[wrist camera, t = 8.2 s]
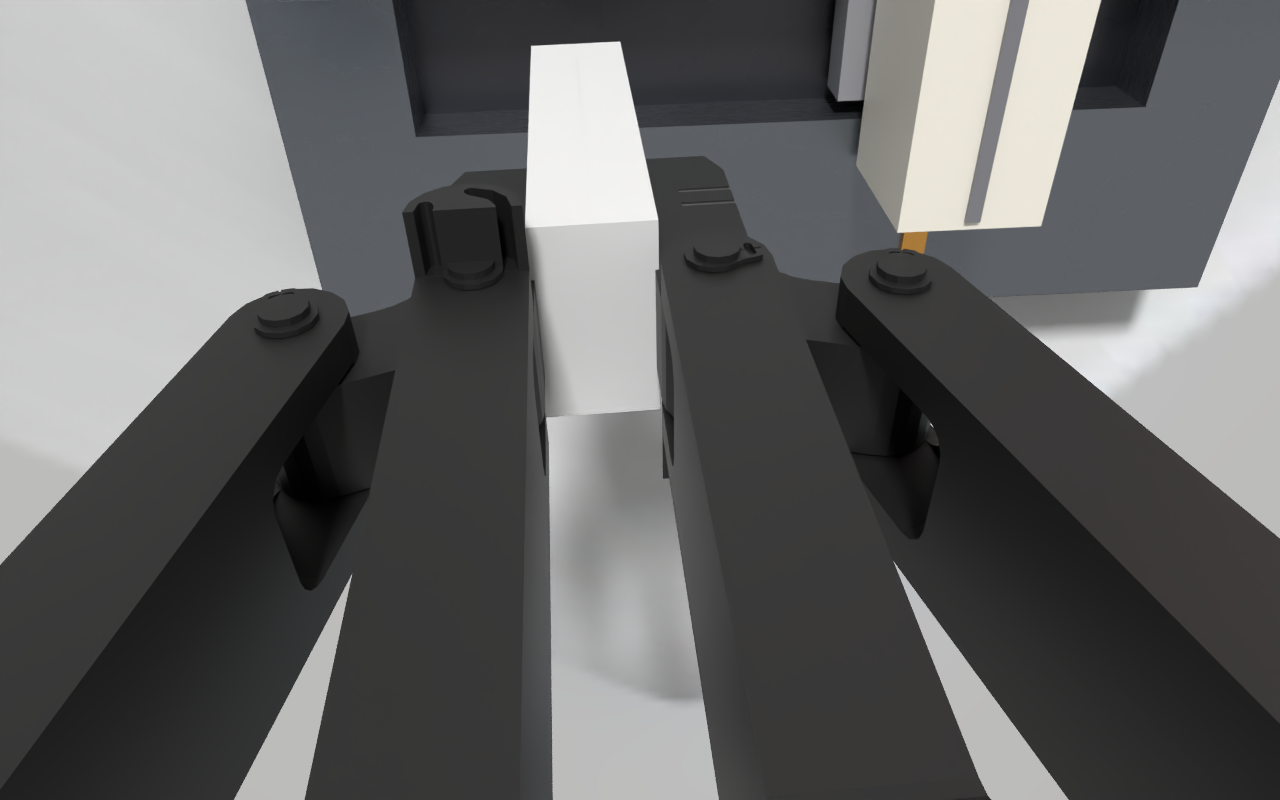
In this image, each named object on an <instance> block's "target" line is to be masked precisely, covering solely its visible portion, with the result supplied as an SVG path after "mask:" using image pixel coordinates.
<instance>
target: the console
mask: <svg viewBox="0 0 1280 800" xmlns="http://www.w3.org/2000/svg"><path fill="white" fill-rule="evenodd" d="M246 3H247V7H248V11H249V15H250V19H251V22H252V26H253V30H254V34H255V37H256V41H257V45H258V49H259V53H260V56H261V60H262V64H263V68H264V71H265V75H266V79H267V83H268V87H269V90H270V94H271V98H272V102H273V105H274V109H275V113H276V117H277V121H278V124H279V128H280V132H281V136H282V139H283V143H284V147H285V151H286V154H287V158H288V162H289V166H290V170H291V173H292V177H293V181H294V185H295V188H296V192H297V196H298V200H299V204H300V207H301V211H302V215H303V219H304V222H305V226H306V230H307V234H308V238H309V241H310V245H311V249H312V253H313V256H314V260H315V264H316V268H317V271H318V275H319V279H320V283H321V287H322V290H323V291H329V292H332V293H334V294H336V295H337V296H339V297H341V298H342V299H344V300H345V302H346V305H347V307H348V310H349V313H350V317H353V316H357V315H362V314H366V313H370V312H374V311H378V310H381V309H384V308H387V307H391V306H394V305H396V304H398V303H400V302H403V301H405V300H407V299H409V298H410V297H411V294H412V290H413V285H414V280H415V275H414V270H413V265H412V260H411V255H410V250H409V245H408V240H407V235H406V230H405V225H404V220H403V215H402V212H403V210H404V209H405V207H406V206H407V204H408V203H409V202H410V201H412V200H413V199H415V198H417V197H418V196H420V195H422V194H423V193H426V192H429V191H432V190H435V189H438V188H441V187H444V186H451V185H452V184H453V183H454V182H455V181H456V180H457V179H458V178H459V177H460V176H461V175H462V174H463V173H465V172H470V171H488V170H506V169H524V168H527V153H528V124H529V95H530V66H531V46H540V45H560V44H580V43H600V42H620V43H621V48H622V53H623V57H624V62H625V67H626V71H627V76H628V81H629V85H630V90H631V95H632V99H633V104H634V109H635V113H636V118H637V123H638V127H639V132H640V136H641V141H642V146H643V150H644V155H645V159H655V158H672V157H690V156H705V157H707V158H708V159H709V160H711V161H712V162H714V163H715V164H716V165H718V166H719V167H721V168H722V169H723V170H724V173H725V175H726V178H727V181H728V184H729V189H731V192H732V194H733V197H734V203H736V205H737V208H738V211H739V213H740V216H741V219H742V221H743V224H744V227H745V229H746V232H747V235H748V237H750V238H752V239H754V240H756V241H758V242H760V243H762V244H764V245H765V247H766V248H767V249H768V250H769V251H770V253H771V254H772V256H773V258H774V261H775V263H776V266H777V268H778V271H779V272H781V273H784V274H787V275H790V276H793V277H797V278H803V279H809V280H816V281H824V282H833V283H840V276H841V271H842V267H843V265H844V264H845V263H846V262H847V261H848V260H850V259H851V258H852V257H853V256H856V255H859V254H862V253H865V252H868V251H872V250H884V249H887V248H900V250H903V249H909V250H914V251H917V252H918V253H922V254H925V255H928V256H931V257H935V258H937V259H938V260H940V261H942V262H943V263H945V264H947V265H948V266H950V267H952V268H953V269H954V270H955V271H956V272H958V273H959V274H960V275H961V276H963V277H964V278H965V279H966V280H967V281H969V282H970V283H971V284H972V285H973V286H975V287H976V288H977V289H978V290H979V291H981V292H982V293H983V294H984V295H986V296H987V297H1000V296H1021V295H1042V294H1064V293H1085V292H1106V291H1127V290H1148V289H1169V288H1190V287H1198V284H1199V282H1200V279H1201V277H1202V274H1203V272H1204V269H1205V267H1206V264H1207V262H1208V259H1209V257H1210V254H1211V251H1212V249H1213V246H1214V244H1215V241H1216V239H1217V236H1218V234H1219V231H1220V229H1221V226H1222V224H1223V221H1224V219H1225V216H1226V214H1227V211H1228V209H1229V206H1230V203H1231V201H1232V198H1233V196H1234V193H1235V191H1236V188H1237V186H1238V183H1239V181H1240V178H1241V176H1242V173H1243V171H1244V168H1245V166H1246V163H1247V161H1248V158H1249V155H1250V153H1251V150H1252V148H1253V145H1254V143H1255V140H1256V138H1257V135H1258V133H1259V130H1260V128H1261V125H1262V123H1263V120H1264V118H1265V115H1266V113H1267V110H1268V107H1269V105H1270V102H1271V100H1272V97H1273V95H1274V92H1275V90H1276V87H1277V85H1278V82H1279V80H1280V0H1101V3H1100V6H1099V10H1098V14H1097V18H1096V21H1095V25H1094V29H1093V33H1092V37H1091V40H1090V44H1089V48H1088V52H1087V55H1086V59H1085V63H1084V67H1083V70H1082V74H1081V78H1080V82H1079V85H1078V89H1077V93H1076V97H1075V100H1074V104H1073V108H1072V112H1071V116H1070V119H1069V123H1068V127H1067V131H1066V134H1065V138H1064V142H1063V146H1062V149H1061V153H1060V157H1059V161H1058V164H1057V168H1056V172H1055V176H1054V179H1053V183H1052V187H1051V191H1050V195H1049V198H1048V202H1047V206H1046V210H1045V213H1044V217H1043V221H1042V225H1041V226H1036V227H1014V228H992V229H969V230H947V231H925V232H903V233H897V231H896V230H895V228H894V226H893V225H892V223H891V221H890V220H889V218H888V217H887V215H886V213H885V212H884V210H883V208H882V207H881V205H880V203H879V202H878V200H877V199H876V197H875V195H874V194H873V192H872V190H871V189H870V187H869V185H868V184H867V182H866V181H865V179H864V177H863V176H862V174H861V172H860V171H859V169H858V167H857V166H856V162H857V154H858V146H859V138H860V130H861V122H862V115H863V107H864V100H855V101H837V99H836V98H835V96H834V95H833V93H832V92H831V90H830V89H829V87H828V86H827V83H828V74H829V64H830V54H831V44H832V34H833V24H834V14H835V4H836V0H246Z"/></svg>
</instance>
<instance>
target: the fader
mask: <svg viewBox="0 0 1280 800" xmlns="http://www.w3.org/2000/svg"><path fill="white" fill-rule="evenodd" d="M1100 3H1101V0H836V4H835V14H834V24H833V34H832V44H831V54H830V64H829V74H828V83H827V86H828V87H829V89H830V90H831V92H832V93H833V95H834V96H835V98H836V99H837V101H855V100H864V107H863V115H862V122H861V130H860V138H859V146H858V154H857V162H856V166H857V167H858V169H859V171H860V172H861V174H862V176H863V177H864V179H865V181H866V182H867V184H868V185H869V187H870V189H871V190H872V192H873V194H874V195H875V197H876V199H877V200H878V202H879V203H880V205H881V207H882V208H883V210H884V212H885V213H886V215H887V217H888V218H889V220H890V221H891V223H892V225H893V226H894V228H895V230H896V231H897V233H903V232H925V231H947V230H969V229H992V228H1014V227H1036V226H1041V225H1042V221H1043V217H1044V213H1045V210H1046V206H1047V202H1048V198H1049V195H1050V191H1051V187H1052V183H1053V179H1054V176H1055V172H1056V168H1057V164H1058V161H1059V157H1060V153H1061V149H1062V146H1063V142H1064V138H1065V134H1066V131H1067V127H1068V123H1069V119H1070V116H1071V112H1072V108H1073V104H1074V100H1075V97H1076V93H1077V89H1078V85H1079V82H1080V78H1081V74H1082V70H1083V67H1084V63H1085V59H1086V55H1087V52H1088V48H1089V44H1090V40H1091V37H1092V33H1093V29H1094V25H1095V21H1096V18H1097V14H1098V10H1099V6H1100Z"/></svg>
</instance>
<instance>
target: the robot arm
mask: <svg viewBox="0 0 1280 800" xmlns="http://www.w3.org/2000/svg"><path fill="white" fill-rule="evenodd" d="M402 215H403V220H404V225H405V230H406V235H407V240H408V245H409V250H410V255H411V260H412V265H413V270H414V275H415V280H414V285H413V290H412V294H411V297H410V298H409V299H407V300H405V301H403V302H400V303H398V304H396V305H394V306H391V307H387V308H384V309H381V310H378V311H374V312H370V313H366V314H362V315H357V316H353V317H350V313H349V310H348V307H347V305H346V302H345V300H344V299H342V298H341V297H339V296H337V295H336V294H334V293H332V292H329V291H323V290H318V289H313V288H312V289H295V288H292V289H285V290H281V292H279V291H275V292H272V293H268V294H266V295H264V296H263V297H261V298H259V299H256V300H254V301H252V302H250V303H247V304H245V305H244V306H243V307H242V308H240V309H239V310H238V311H236V312H235V313H234V314H232V315H231V316H230V317H229V318H228V319H227V320H226V321H225V323H224V324H223V325H222V326H221V327H220V328H219V329H218V330H217V331H216V332H215V333H214V334H213V336H212V337H211V338H210V339H209V340H208V341H207V342H206V343H205V344H204V345H203V346H202V347H201V348H200V350H199V351H198V352H197V353H196V354H195V355H194V356H193V357H192V358H191V359H190V360H189V361H188V363H187V364H186V365H185V366H184V367H183V368H182V369H181V370H180V371H179V372H178V373H177V374H176V376H175V377H174V378H173V379H172V380H171V381H170V382H169V383H168V384H167V385H166V386H165V387H164V389H163V390H162V391H161V392H160V393H159V394H158V395H157V396H156V397H155V398H154V399H153V400H152V401H151V403H150V404H149V405H148V406H147V407H146V408H145V409H144V410H143V411H142V412H141V413H140V414H139V416H138V417H137V418H136V419H135V420H134V421H133V422H132V423H131V424H130V425H129V426H128V427H127V429H126V430H125V431H124V432H123V433H122V434H121V435H120V436H119V437H118V438H117V439H116V440H115V441H114V443H113V444H112V445H111V446H110V447H109V448H108V449H107V450H106V451H105V452H104V453H103V454H102V456H101V457H100V458H99V459H98V460H97V461H96V462H95V463H94V464H93V465H92V466H91V467H90V469H89V470H88V471H87V472H86V473H85V474H84V475H83V476H82V477H81V478H80V479H79V480H78V482H77V483H76V484H75V485H74V486H73V487H72V488H71V489H70V490H69V491H68V492H67V493H66V495H65V496H64V497H63V498H62V499H61V500H60V501H59V502H58V503H57V504H56V505H55V506H54V507H53V509H52V510H51V511H50V512H49V513H48V514H47V515H46V516H45V517H44V518H43V520H41V522H40V523H39V524H38V525H37V526H36V527H35V528H34V529H33V530H32V531H31V533H30V534H28V536H27V537H26V538H25V539H24V540H23V541H22V542H21V543H20V544H19V545H18V546H17V548H16V549H15V550H14V551H13V552H12V553H11V554H10V555H9V556H8V557H7V558H6V559H5V561H4V562H3V563H2V564H1V565H0V800H234V798H235V796H236V794H237V792H238V791H239V789H240V786H241V785H242V783H243V781H244V779H245V777H246V775H247V773H248V771H249V769H250V768H251V766H252V764H253V762H254V760H255V758H256V756H257V754H258V752H259V750H260V749H261V747H262V745H263V743H264V741H265V739H266V737H267V735H268V733H269V731H270V729H271V728H272V725H273V724H274V722H275V720H276V718H277V716H278V714H279V712H280V710H281V708H282V706H283V705H284V703H285V701H286V699H287V697H288V695H289V693H290V691H291V689H292V687H293V685H294V684H295V682H296V680H297V678H298V676H299V674H300V672H301V670H302V668H303V666H304V665H305V663H306V661H307V658H308V657H309V655H310V653H311V651H312V649H313V647H314V645H315V643H316V642H317V640H318V638H319V636H320V634H321V632H322V630H323V628H324V626H325V624H326V622H327V621H328V619H329V617H330V615H331V613H332V611H333V609H334V607H335V605H336V603H337V601H338V600H339V598H340V596H341V594H342V592H343V590H344V588H345V586H346V584H347V582H348V580H349V579H350V577H351V575H352V578H351V583H350V588H349V592H348V597H347V602H346V607H345V612H344V617H343V621H342V625H341V630H340V635H339V640H338V645H337V649H336V654H335V659H334V663H333V668H332V673H331V677H330V683H329V687H328V692H327V696H326V701H325V706H324V711H323V715H322V720H321V725H320V730H319V734H318V739H317V744H316V748H315V753H314V758H313V763H312V768H311V772H310V777H309V782H308V786H307V791H306V796H305V800H553V797H552V796H553V795H552V707H551V705H552V704H551V612H550V521H549V441H548V432H547V423H546V417H558V416H573V415H587V414H601V413H615V412H630V411H644V410H658V409H661V396H662V429H663V479H665V478H669V479H670V485H671V492H672V498H673V505H674V511H675V518H676V524H677V531H678V537H679V544H680V550H681V556H682V563H683V569H684V576H685V582H686V589H687V595H688V602H689V608H690V615H691V621H692V628H693V634H694V641H695V647H696V654H697V660H698V667H699V673H700V680H701V686H702V692H703V699H704V705H705V712H706V718H707V724H708V731H709V738H710V744H711V751H712V757H713V764H714V770H715V777H716V783H717V789H718V796H719V800H991V799H990V798H989V797H988V795H987V793H986V791H985V789H984V787H983V785H982V783H981V781H980V779H979V777H978V774H977V772H976V769H975V767H974V764H973V762H972V759H971V757H970V754H969V752H968V749H967V747H966V744H965V741H964V739H963V736H962V734H961V731H960V729H959V726H958V724H957V721H956V719H955V716H954V714H953V711H952V708H951V706H950V704H949V701H948V698H947V696H946V694H945V691H944V688H943V686H942V683H941V681H940V678H939V676H938V673H937V671H936V668H935V666H934V663H933V661H932V658H931V655H930V653H929V650H928V648H927V645H926V643H925V640H924V638H923V635H922V633H921V630H920V628H919V625H918V622H917V620H916V618H915V615H914V612H913V610H912V607H911V605H910V602H909V600H908V597H907V595H906V592H905V590H904V587H903V585H902V582H901V579H900V577H899V574H898V572H897V569H896V567H895V564H896V565H897V566H898V568H899V569H900V570H901V572H902V573H903V574H904V576H905V577H906V578H907V580H908V581H909V583H910V584H911V585H912V587H913V588H914V589H915V591H916V592H917V594H918V595H919V596H920V598H921V599H922V600H923V602H924V603H925V604H926V606H927V607H928V608H929V610H930V611H931V612H932V614H933V615H934V616H935V618H936V619H937V621H938V622H939V623H940V625H941V626H942V628H943V629H944V630H945V632H946V633H947V634H948V636H949V637H950V638H951V640H952V641H953V642H954V644H955V645H956V647H957V648H958V649H959V651H960V652H961V653H962V655H963V656H964V657H965V659H966V660H967V662H968V663H969V664H970V666H971V667H972V668H973V670H974V671H975V673H976V674H977V675H978V676H979V678H980V679H981V681H982V682H983V683H984V685H985V686H986V688H987V689H988V690H989V692H990V693H991V694H992V696H993V697H994V698H995V700H996V701H997V702H998V704H999V705H1000V707H1001V708H1002V709H1003V711H1004V712H1005V713H1006V715H1007V716H1008V717H1009V719H1010V720H1011V722H1012V723H1013V724H1014V726H1015V727H1016V728H1017V730H1018V731H1019V732H1020V734H1021V735H1022V737H1023V738H1024V739H1025V741H1026V742H1027V743H1028V745H1029V746H1030V747H1031V749H1032V750H1033V752H1034V753H1035V754H1036V756H1037V757H1038V758H1039V760H1040V761H1041V762H1042V764H1043V765H1044V766H1045V768H1046V769H1047V771H1048V772H1049V773H1050V775H1051V776H1052V777H1053V779H1054V780H1055V781H1056V782H1057V784H1058V785H1059V787H1060V788H1061V790H1062V791H1063V792H1064V794H1065V795H1066V796H1067V798H1068V799H1069V800H1280V538H1278V537H1277V536H1276V535H1275V534H1274V533H1272V532H1271V531H1270V530H1269V529H1267V528H1266V527H1265V526H1264V525H1263V524H1261V523H1260V522H1259V521H1258V520H1257V519H1255V518H1254V517H1253V516H1252V515H1251V514H1249V513H1248V512H1247V511H1246V510H1245V509H1243V508H1242V507H1240V505H1238V504H1237V503H1236V502H1235V501H1234V500H1232V499H1231V498H1230V497H1229V496H1227V495H1226V494H1225V493H1224V492H1223V491H1221V490H1220V489H1219V488H1218V487H1217V486H1215V485H1214V484H1213V483H1212V482H1210V481H1209V480H1208V479H1207V478H1206V477H1205V476H1203V475H1202V474H1201V473H1200V472H1198V471H1197V470H1196V469H1195V468H1194V467H1192V466H1191V465H1190V464H1189V463H1188V462H1186V461H1185V460H1184V459H1183V458H1182V457H1180V456H1179V455H1178V454H1177V453H1176V452H1174V451H1173V450H1172V449H1171V448H1169V447H1168V446H1167V445H1166V444H1165V443H1163V442H1162V441H1161V440H1160V439H1159V438H1157V437H1156V436H1155V435H1154V434H1153V433H1151V432H1150V431H1149V430H1148V429H1146V428H1145V427H1144V426H1143V425H1142V424H1140V423H1139V422H1138V421H1137V420H1135V419H1134V418H1133V417H1132V416H1131V415H1129V414H1128V413H1127V412H1126V411H1125V410H1123V409H1122V408H1121V407H1120V406H1119V405H1117V404H1116V403H1115V402H1114V401H1113V400H1111V399H1110V398H1109V397H1108V396H1107V395H1105V394H1104V393H1103V392H1102V391H1100V390H1099V389H1098V388H1097V387H1096V386H1094V385H1093V384H1092V383H1091V382H1090V381H1088V380H1087V379H1086V378H1085V377H1084V376H1082V375H1081V374H1080V373H1079V372H1077V371H1076V370H1075V369H1074V368H1073V367H1071V366H1070V365H1069V364H1068V363H1067V362H1065V361H1064V360H1063V359H1062V358H1061V357H1059V356H1058V355H1057V354H1056V353H1055V352H1053V351H1052V350H1051V349H1050V348H1048V347H1047V346H1046V345H1045V344H1044V343H1042V342H1041V341H1040V340H1039V339H1038V338H1036V337H1035V336H1034V335H1033V334H1032V333H1030V332H1029V331H1028V330H1027V329H1025V328H1024V327H1023V326H1022V325H1021V324H1019V323H1018V322H1017V321H1016V320H1015V319H1013V318H1012V317H1011V316H1010V315H1009V314H1007V313H1006V312H1005V311H1004V310H1002V309H1001V308H1000V307H999V306H998V305H996V304H995V303H994V302H993V301H992V300H990V299H989V298H988V297H987V296H986V295H984V294H983V293H982V292H981V291H979V290H978V289H977V288H976V287H975V286H973V285H972V284H971V283H970V282H969V281H967V280H966V279H965V278H964V277H963V276H961V275H960V274H959V273H958V272H956V271H955V270H954V269H953V268H952V267H950V266H948V265H947V264H945V263H943V262H942V261H940V260H938V259H937V258H935V257H931V256H928V255H925V254H922V253H918V252H917V251H914V250H909V249H903V250H900V248H887V249H884V250H872V251H868V252H865V253H862V254H859V255H856V256H853V257H852V258H851V259H850V260H848V261H847V262H846V263H845V264H844V265H843V267H842V271H841V276H840V283H833V282H824V281H816V280H809V279H803V278H797V277H793V276H790V275H787V274H784V273H781V272H779V271H778V268H777V266H776V263H775V261H774V258H773V256H772V254H771V253H770V251H769V250H768V249H767V248H766V247H765V245H764V244H762V243H760V242H758V241H756V240H754V239H752V238H750V237H748V235H747V232H746V229H745V227H744V224H743V221H742V219H741V216H740V213H739V211H738V208H737V205H736V203H734V197H733V194H732V192H731V189H729V184H728V181H727V178H726V175H725V173H724V170H723V169H722V168H721V167H719V166H718V165H716V164H715V163H714V162H712V161H711V160H709V159H708V158H707V157H705V156H690V157H672V158H655V159H645V155H644V150H643V146H642V141H641V136H640V132H639V127H638V123H637V118H636V113H635V109H634V104H633V99H632V95H631V90H630V85H629V81H628V76H627V71H626V67H625V62H624V57H623V53H622V48H621V43H620V42H600V43H580V44H560V45H540V46H531V66H530V95H529V124H528V153H527V168H524V169H506V170H488V171H470V172H465V173H463V174H462V175H461V176H460V177H459V178H458V179H457V180H456V181H455V182H454V183H453V184H452V185H451V186H444V187H441V188H438V189H435V190H432V191H429V192H426V193H423V194H422V195H420V196H418V197H417V198H415V199H413V200H412V201H410V202H409V203H408V204H407V206H406V207H405V209H404V210H403V212H402ZM660 390H661V395H660ZM545 413H546V414H545ZM930 423H931V424H932V425H933V427H934V428H933V427H932V426H931V425H930ZM893 561H894V562H895V564H894V562H893Z"/></svg>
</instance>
